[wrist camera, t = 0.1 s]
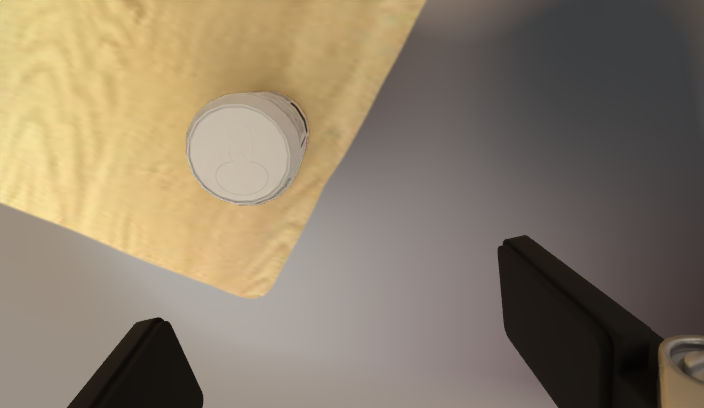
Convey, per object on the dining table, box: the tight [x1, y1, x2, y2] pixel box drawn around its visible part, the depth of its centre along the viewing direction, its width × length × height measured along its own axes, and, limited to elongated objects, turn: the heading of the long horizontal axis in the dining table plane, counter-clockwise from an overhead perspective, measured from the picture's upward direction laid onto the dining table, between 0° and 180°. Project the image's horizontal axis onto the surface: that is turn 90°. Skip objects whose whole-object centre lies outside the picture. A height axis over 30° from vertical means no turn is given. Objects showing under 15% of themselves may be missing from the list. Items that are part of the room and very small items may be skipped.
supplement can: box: [186, 91, 309, 206], centre depth 31 cm, size 8×8×15 cm
